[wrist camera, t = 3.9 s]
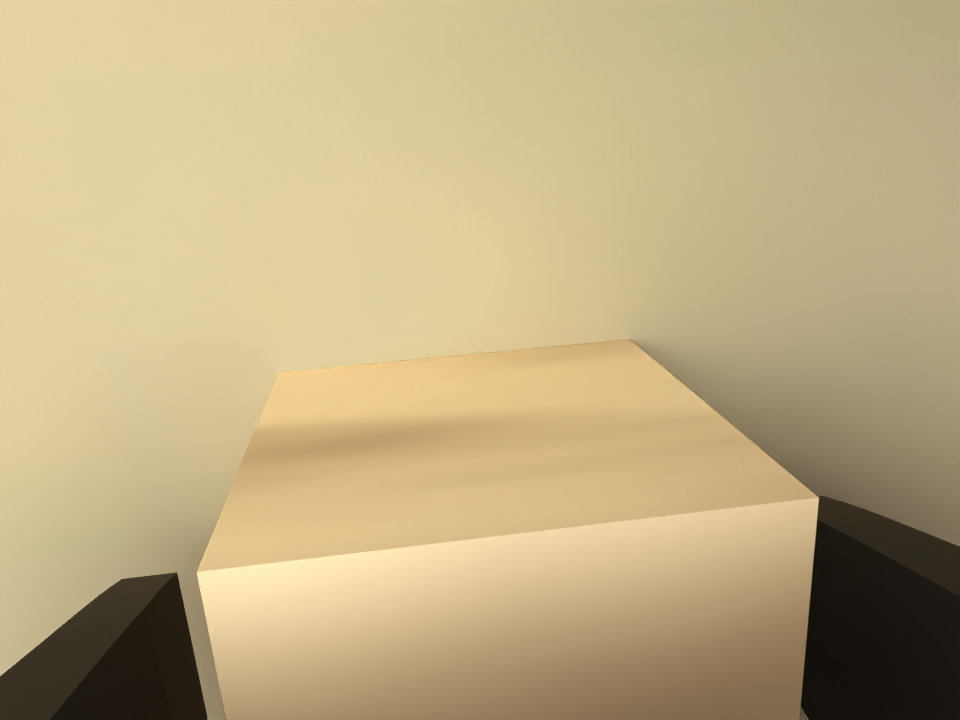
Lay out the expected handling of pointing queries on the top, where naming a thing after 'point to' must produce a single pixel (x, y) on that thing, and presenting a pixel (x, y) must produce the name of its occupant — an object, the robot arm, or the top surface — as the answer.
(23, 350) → the top surface
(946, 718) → the robot arm
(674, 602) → the wooden letter cube
